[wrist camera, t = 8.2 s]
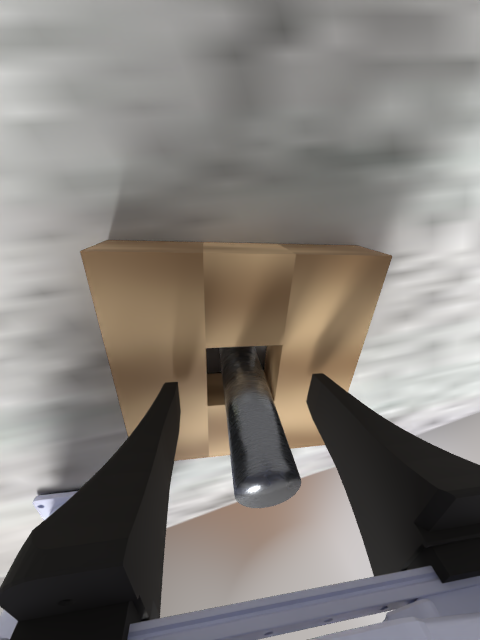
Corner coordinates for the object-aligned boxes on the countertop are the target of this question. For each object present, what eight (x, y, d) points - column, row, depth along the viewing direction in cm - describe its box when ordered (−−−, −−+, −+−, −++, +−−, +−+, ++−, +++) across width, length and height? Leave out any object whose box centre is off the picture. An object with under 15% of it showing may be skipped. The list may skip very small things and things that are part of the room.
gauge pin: (250, 363, 17) (290, 506, 9) (217, 360, 16) (229, 509, 9) (257, 334, 16) (310, 467, 8) (222, 331, 15) (241, 469, 8)
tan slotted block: (314, 412, 20) (330, 444, 18) (145, 426, 18) (135, 464, 16) (356, 245, 14) (392, 255, 11) (107, 240, 12) (80, 251, 9)
